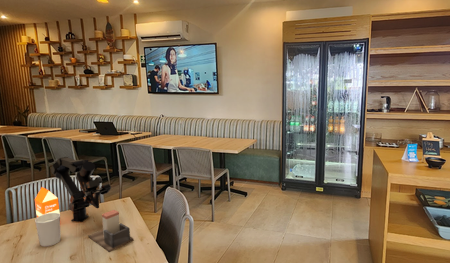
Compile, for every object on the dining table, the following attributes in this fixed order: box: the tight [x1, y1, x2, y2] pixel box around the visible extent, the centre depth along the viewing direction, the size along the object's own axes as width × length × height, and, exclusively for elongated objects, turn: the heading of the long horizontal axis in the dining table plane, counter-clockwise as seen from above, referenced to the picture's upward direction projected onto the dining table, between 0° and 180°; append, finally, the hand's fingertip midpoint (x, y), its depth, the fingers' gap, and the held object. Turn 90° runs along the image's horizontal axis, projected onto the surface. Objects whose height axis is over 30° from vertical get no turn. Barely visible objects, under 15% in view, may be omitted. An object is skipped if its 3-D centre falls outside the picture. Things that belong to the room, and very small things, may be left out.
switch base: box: [88, 222, 134, 253], centre depth 132 cm, size 19×12×7 cm, turn 51°
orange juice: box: [34, 186, 62, 226], centre depth 144 cm, size 8×9×20 cm
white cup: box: [34, 213, 62, 247], centre depth 130 cm, size 10×10×12 cm
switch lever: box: [101, 209, 120, 234], centre depth 131 cm, size 4×6×12 cm
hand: (98, 208), depth 137 cm, fingers closed
